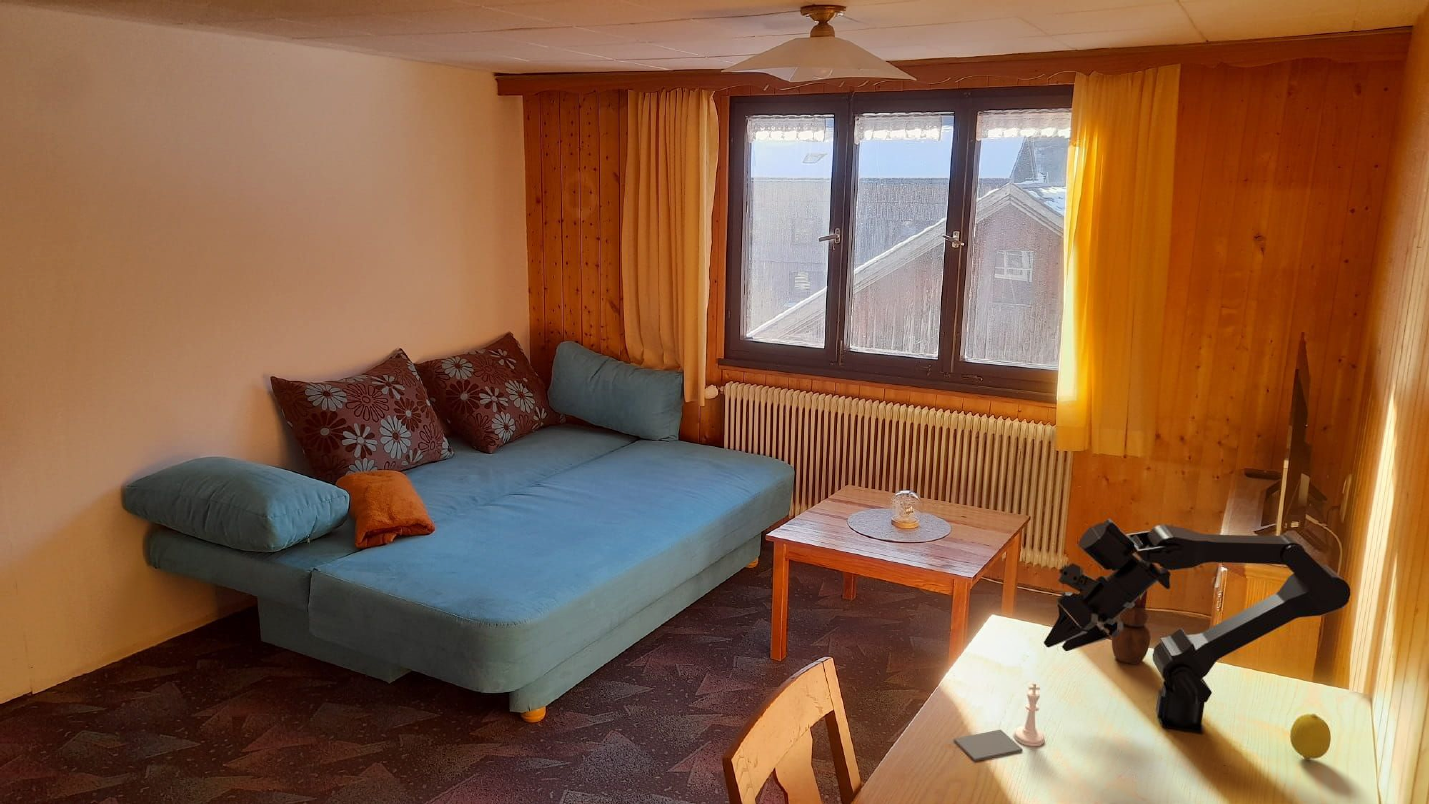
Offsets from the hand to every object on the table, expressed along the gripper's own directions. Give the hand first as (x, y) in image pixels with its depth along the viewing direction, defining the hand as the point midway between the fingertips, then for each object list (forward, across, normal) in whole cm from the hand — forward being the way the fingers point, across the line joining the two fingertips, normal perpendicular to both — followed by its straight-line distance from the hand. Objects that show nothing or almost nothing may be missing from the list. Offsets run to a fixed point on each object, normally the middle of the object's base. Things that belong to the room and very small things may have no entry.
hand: (1054, 647), depth 172 cm
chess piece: (+12, +4, +9) cm, 16 cm away
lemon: (-15, -18, +34) cm, 41 cm away
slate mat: (+17, +11, +8) cm, 21 cm away
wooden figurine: (-2, -31, +3) cm, 31 cm away
